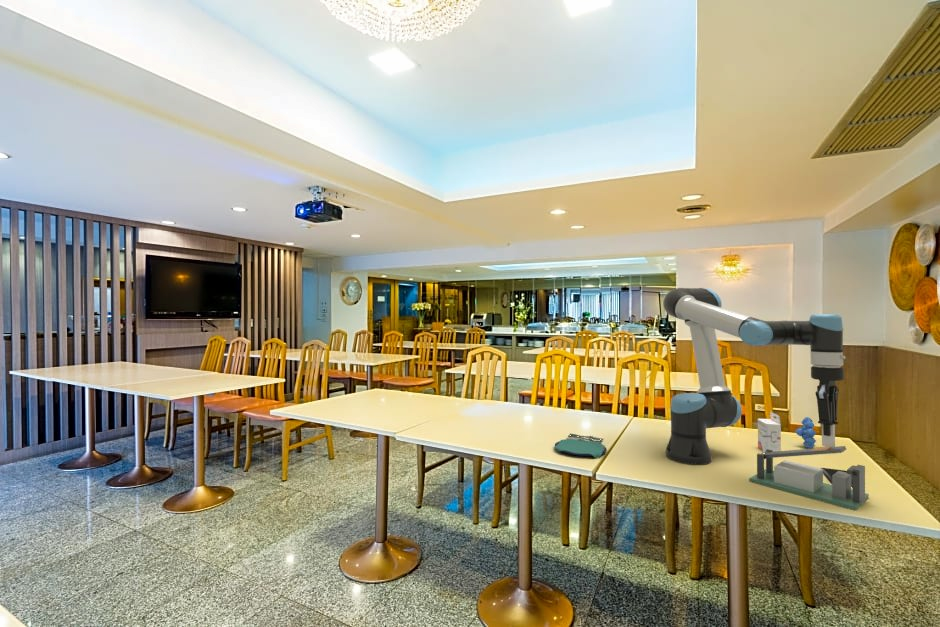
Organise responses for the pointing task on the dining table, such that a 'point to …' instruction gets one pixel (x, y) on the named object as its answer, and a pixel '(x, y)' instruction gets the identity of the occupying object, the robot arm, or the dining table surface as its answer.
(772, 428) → the ink cartridge box
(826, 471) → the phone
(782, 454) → the clamp bar
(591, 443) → the teal clutch purse
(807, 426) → the grapes
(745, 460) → the dining table surface
